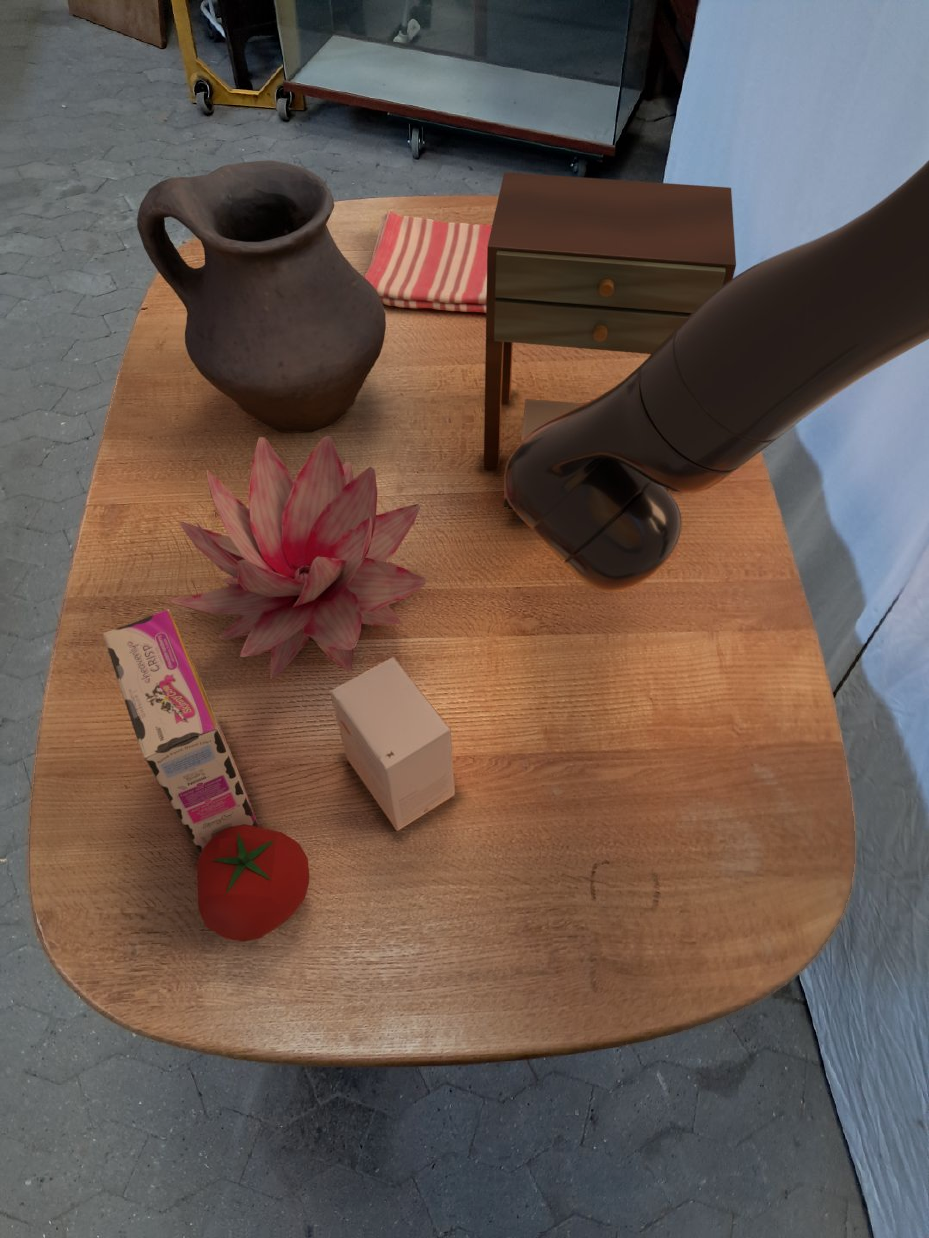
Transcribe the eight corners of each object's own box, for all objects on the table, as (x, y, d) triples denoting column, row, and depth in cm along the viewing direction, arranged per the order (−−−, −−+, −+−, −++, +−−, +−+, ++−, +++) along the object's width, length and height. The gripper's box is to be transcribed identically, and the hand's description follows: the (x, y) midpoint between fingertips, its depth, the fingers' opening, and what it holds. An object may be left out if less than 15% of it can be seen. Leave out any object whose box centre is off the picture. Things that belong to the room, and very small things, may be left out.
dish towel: (383, 232, 121) (381, 207, 118) (558, 243, 119) (560, 218, 116) (359, 309, 111) (356, 283, 108) (550, 322, 109) (552, 296, 106)
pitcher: (394, 464, 94) (373, 242, 74) (183, 475, 94) (105, 253, 74) (390, 342, 107) (372, 123, 87) (204, 351, 106) (142, 131, 86)
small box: (456, 796, 72) (454, 731, 64) (396, 834, 70) (386, 771, 62) (402, 724, 76) (394, 653, 68) (344, 757, 74) (328, 689, 66)
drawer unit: (678, 498, 91) (737, 275, 71) (481, 478, 93) (485, 255, 73) (678, 410, 99) (731, 187, 79) (497, 394, 101) (504, 172, 81)
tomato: (215, 847, 70) (192, 806, 64) (319, 845, 70) (305, 804, 64) (198, 953, 65) (172, 920, 59) (310, 951, 65) (294, 918, 59)
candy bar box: (266, 835, 70) (219, 730, 57) (204, 863, 69) (141, 762, 56) (221, 723, 76) (169, 604, 63) (163, 747, 75) (97, 631, 62)
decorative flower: (192, 726, 76) (140, 619, 64) (197, 537, 89) (154, 418, 76) (445, 691, 78) (441, 581, 66) (414, 511, 90) (406, 391, 78)
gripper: (676, 458, 67) (649, 465, 84) (498, 442, 68) (507, 452, 85) (663, 559, 68) (639, 545, 85) (488, 541, 69) (500, 532, 86)
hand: (573, 499), depth 85 cm, fingers closed
